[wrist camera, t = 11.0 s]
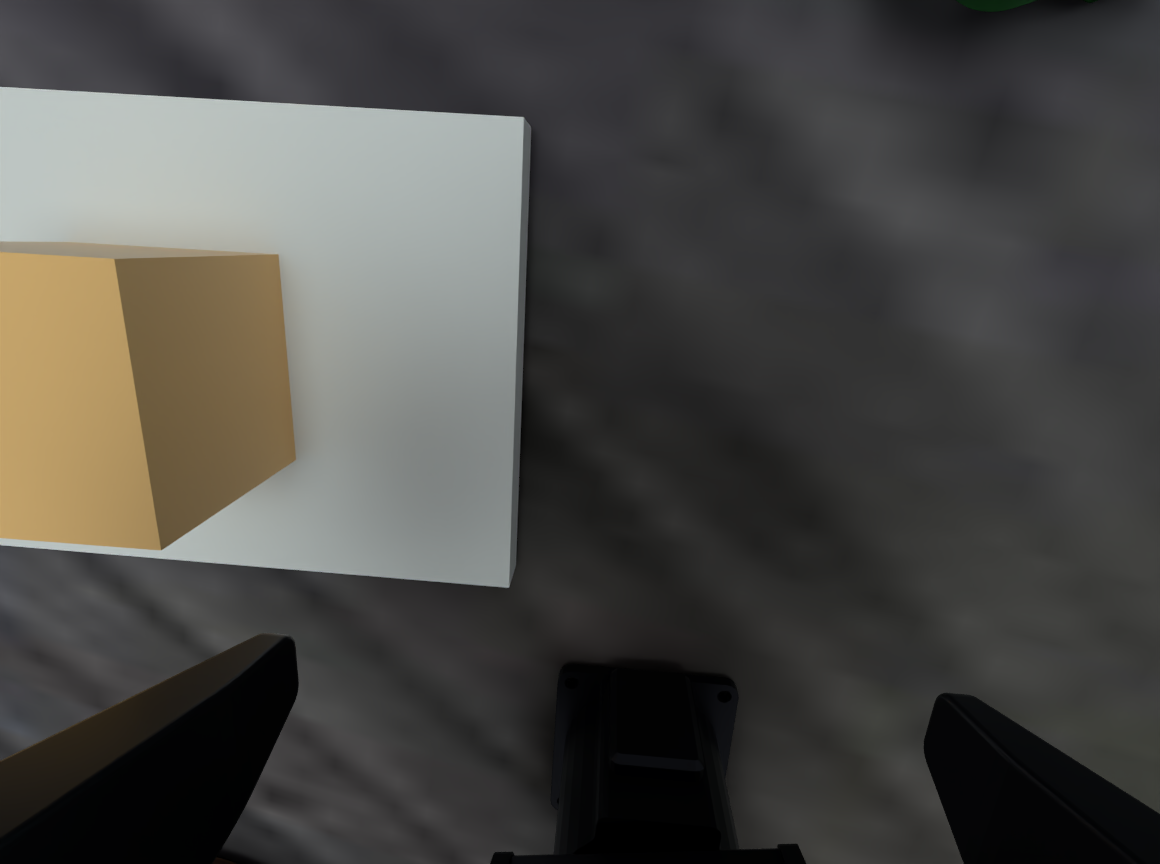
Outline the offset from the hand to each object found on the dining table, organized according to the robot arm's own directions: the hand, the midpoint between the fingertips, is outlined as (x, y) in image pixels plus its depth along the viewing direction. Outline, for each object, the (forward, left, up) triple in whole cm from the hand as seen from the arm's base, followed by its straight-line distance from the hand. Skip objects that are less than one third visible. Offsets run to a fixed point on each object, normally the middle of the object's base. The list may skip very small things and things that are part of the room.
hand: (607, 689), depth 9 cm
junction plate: (+2, +13, -12) cm, 18 cm away
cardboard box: (+2, +13, -10) cm, 17 cm away
